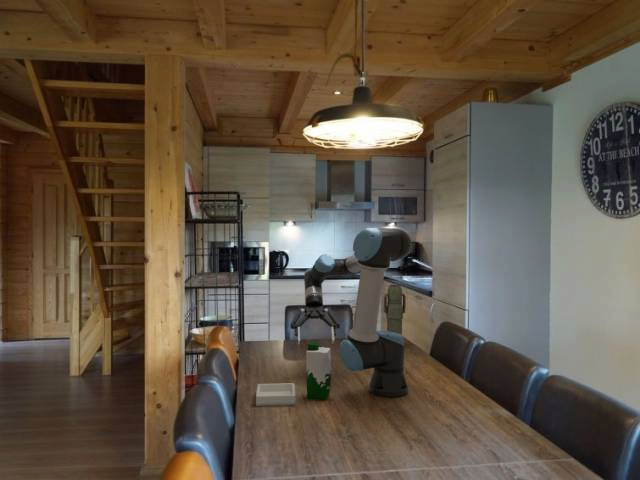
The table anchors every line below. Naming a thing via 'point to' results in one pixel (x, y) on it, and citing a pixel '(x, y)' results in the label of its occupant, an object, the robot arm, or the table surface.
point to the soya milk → (318, 372)
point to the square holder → (275, 394)
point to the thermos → (394, 308)
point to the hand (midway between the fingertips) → (316, 342)
